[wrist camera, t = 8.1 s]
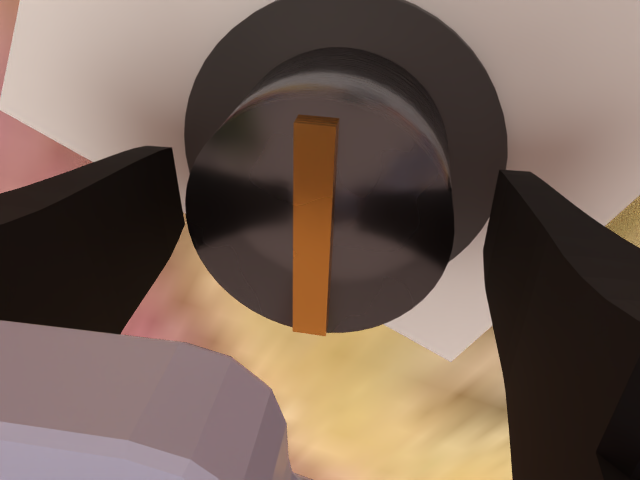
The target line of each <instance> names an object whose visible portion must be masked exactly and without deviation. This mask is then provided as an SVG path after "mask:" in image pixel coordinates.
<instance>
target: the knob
mask: <svg viewBox="0 0 640 480" xmlns="http://www.w3.org/2000/svg"><path fill="white" fill-rule="evenodd" d="M185 209H186V219H187V224H188V230H189V233H190V236H191V239H192V242H193V245H194V247H195V249H196V251H197V253H198V255H199V257H200V259H201V260H202V262H203V264H204V265H205V267H206V268H207V270H208V271H209V272H210V274H211V275H212V276H213V277H214V279H215V280H216V281H217V282H218V283H219V284H220V285H221V286H222V287H223V288H224V289H225V290H226V291H227V292H228V293H229V294H230V295H231V296H233V297H234V298H235V299H237V300H238V301H239V302H240V303H242V304H243V305H245V306H246V307H248V308H249V309H251V310H253V311H254V312H256V313H258V314H260V315H262V316H264V317H266V318H268V319H270V320H273V321H275V322H278V323H281V324H283V325H287V326H290V327H293V332H300V333H307V334H314V335H322V336H326V333H343V332H352V331H360V330H364V329H369V328H373V327H376V326H379V325H382V324H385V323H388V322H390V321H392V320H394V319H396V318H398V317H400V316H402V315H403V314H405V313H406V312H408V311H410V310H411V309H413V308H414V307H415V306H416V305H417V304H419V303H420V302H421V301H422V300H423V299H424V298H425V297H426V296H427V295H428V294H429V293H430V292H431V291H432V290H433V288H434V287H435V286H436V284H437V283H438V281H439V280H440V278H441V277H442V275H443V273H444V271H445V268H446V266H447V264H448V262H449V259H450V255H451V252H452V248H453V241H454V233H455V229H454V210H453V197H452V185H451V173H450V161H449V148H448V139H447V133H446V128H445V124H444V122H443V119H442V116H441V113H440V111H439V109H438V107H437V105H436V103H435V101H434V100H433V98H432V97H431V95H430V94H429V92H428V91H427V90H426V88H425V87H424V86H423V85H422V84H421V83H420V82H419V81H418V80H417V79H416V78H415V77H414V76H413V75H412V74H411V73H409V72H408V71H407V70H406V69H404V68H403V67H401V66H400V65H398V64H396V63H395V62H393V61H391V60H390V59H387V58H385V57H383V56H380V55H378V54H376V53H372V52H368V51H365V50H361V49H355V48H347V47H328V48H321V49H314V50H311V51H307V52H304V53H300V54H298V55H296V56H294V57H291V58H289V59H287V60H285V61H284V62H282V63H281V64H279V65H277V66H276V67H275V68H273V69H272V70H271V71H270V72H269V73H267V74H266V75H265V76H264V77H263V78H262V79H261V81H260V82H259V83H258V84H257V85H256V86H255V87H254V89H253V90H252V91H251V92H250V93H249V94H248V95H247V97H246V98H245V99H244V100H243V101H242V102H241V103H240V105H239V106H238V107H237V108H236V109H235V110H234V111H233V113H232V114H231V115H230V116H229V117H228V118H227V120H226V121H225V122H224V123H223V124H222V125H221V126H220V128H219V129H218V130H217V131H216V132H215V133H214V134H213V136H212V137H211V138H210V139H209V140H208V141H207V143H206V144H205V145H204V147H203V148H202V150H201V151H200V153H199V154H198V156H197V158H196V160H195V162H194V164H193V167H192V169H191V171H190V175H189V179H188V183H187V187H186V197H185Z"/></svg>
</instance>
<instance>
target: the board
mask: <svg viewBox="0 0 640 480" xmlns="http://www.w3.org/2000/svg"><path fill="white" fill-rule="evenodd" d="M328 47H347V48H355V49H361V50H365V51H368V52H372V53H376V54H378V55H380V56H383V57H385V58H387V59H390V60H391V61H393V62H395V63H396V64H398V65H400V66H401V67H403V68H404V69H406V70H407V71H408V72H409V73H411V74H412V75H413V76H414V77H415V78H416V79H417V80H418V81H419V82H420V83H421V84H422V85H423V86H424V87H425V88H426V90H427V91H428V92H429V94H430V95H431V97H432V98H433V100H434V101H435V103H436V105H437V107H438V109H439V111H440V113H441V116H442V119H443V122H444V124H445V128H446V133H447V139H448V148H449V161H450V173H451V185H452V197H453V210H454V229H455V233H454V241H453V248H452V252H451V255H450V259H449V262H448V264H447V266H446V268H445V271H444V273H443V275H442V277H441V278H440V280H439V281H438V283H437V284H436V286H435V287H434V288H433V290H432V291H431V292H430V293H429V294H428V295H427V296H426V297H425V298H424V299H423V300H422V301H421V302H420V303H419V304H417V305H416V306H415V307H414V308H413V309H411V310H410V311H408V312H406V313H405V314H403V315H402V316H400V317H398V318H396V319H394V320H392V321H390V322H388V323H385V324H384V325H385V326H387V327H389V328H391V329H393V330H394V331H396V332H398V333H400V334H402V335H403V336H405V337H407V338H409V339H411V340H412V341H414V342H416V343H418V344H419V345H421V346H423V347H425V348H427V349H428V350H430V351H432V352H434V353H436V354H437V355H439V356H441V357H443V358H444V359H446V360H448V361H450V362H452V361H453V360H454V359H455V358H456V357H457V356H458V355H460V354H461V353H462V352H463V351H464V350H465V349H466V348H467V347H469V346H470V345H471V344H472V343H473V342H474V341H475V340H476V339H478V338H479V337H480V336H481V335H482V334H483V333H484V332H486V331H487V330H488V329H489V328H490V327H491V326H492V320H491V315H490V311H489V306H488V301H487V296H486V291H485V282H484V265H483V247H484V242H485V237H486V232H487V227H488V222H489V217H490V212H491V208H492V203H493V198H494V193H495V188H496V183H497V178H498V173H499V169H500V170H515V171H530V172H532V173H533V174H535V175H536V176H538V177H539V178H541V179H542V180H543V181H545V182H546V183H547V184H548V185H550V186H551V187H552V188H554V189H555V190H556V191H557V192H559V193H560V194H561V195H562V196H564V197H565V198H566V199H568V200H569V201H570V202H571V203H573V204H574V205H575V206H577V207H578V208H579V209H581V210H582V211H583V212H585V213H586V214H588V215H589V216H590V217H592V218H593V219H595V220H596V221H597V222H599V223H600V224H602V225H603V226H605V225H607V224H608V223H609V222H610V221H611V220H612V219H613V218H614V217H616V216H617V215H618V214H619V213H620V212H621V211H622V210H623V209H625V208H626V207H627V206H628V205H629V204H630V203H631V202H633V201H634V200H635V199H636V198H637V197H638V196H639V195H640V0H20V3H19V8H18V13H17V18H16V23H15V28H14V33H13V38H12V43H11V48H10V53H9V58H8V63H7V68H6V73H5V78H4V83H3V88H2V93H1V98H0V110H1V111H3V112H4V113H6V114H8V115H10V116H12V117H13V118H15V119H17V120H19V121H20V122H22V123H24V124H26V125H28V126H29V127H31V128H33V129H35V130H37V131H38V132H40V133H42V134H44V135H46V136H47V137H49V138H51V139H53V140H54V141H56V142H58V143H60V144H62V145H63V146H65V147H67V148H69V149H71V150H72V151H74V152H76V153H78V154H80V155H81V156H83V157H85V158H87V159H88V160H90V161H92V162H96V161H98V160H101V159H104V158H106V157H109V156H112V155H115V154H118V153H120V152H123V151H127V150H130V149H133V148H137V147H142V146H160V147H172V150H173V156H174V162H175V168H176V174H177V180H178V186H179V192H180V198H181V204H182V210H183V213H185V214H186V209H185V197H186V187H187V183H188V179H189V175H190V171H191V169H192V167H193V164H194V162H195V160H196V158H197V156H198V154H199V153H200V151H201V150H202V148H203V147H204V145H205V144H206V143H207V141H208V140H209V139H210V138H211V137H212V136H213V134H214V133H215V132H216V131H217V130H218V129H219V128H220V126H221V125H222V124H223V123H224V122H225V121H226V120H227V118H228V117H229V116H230V115H231V114H232V113H233V111H234V110H235V109H236V108H237V107H238V106H239V105H240V103H241V102H242V101H243V100H244V99H245V98H246V97H247V95H248V94H249V93H250V92H251V91H252V90H253V89H254V87H255V86H256V85H257V84H258V83H259V82H260V81H261V79H262V78H263V77H264V76H265V75H266V74H267V73H269V72H270V71H271V70H272V69H273V68H275V67H276V66H277V65H279V64H281V63H282V62H284V61H285V60H287V59H289V58H291V57H294V56H296V55H298V54H300V53H304V52H307V51H311V50H314V49H321V48H328Z"/></svg>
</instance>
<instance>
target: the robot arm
mask: <svg viewBox="0 0 640 480" xmlns="http://www.w3.org/2000/svg"><path fill="white" fill-rule="evenodd" d="M184 225H185V222H184V216H183V210H182V204H181V198H180V192H179V186H178V180H177V174H176V168H175V162H174V156H173V150H172V147H160V146H142V147H137V148H133V149H130V150H127V151H123V152H120V153H118V154H115V155H112V156H109V157H106V158H104V159H101V160H98V161H96V162H93V163H90V164H88V165H85V166H82V167H80V168H77V169H74V170H72V171H69V172H66V173H63V174H60V175H57V176H54V177H51V178H48V179H45V180H43V181H40V182H37V183H34V184H31V185H28V186H25V187H22V188H18V189H15V190H11V191H8V192H4V193H1V194H0V480H312V479H309V478H307V477H304V476H301V475H299V474H296V473H293V472H292V469H291V465H290V461H289V457H288V440H287V423H286V421H285V419H284V417H283V414H282V412H281V410H280V407H279V405H278V403H277V401H276V398H275V396H274V394H273V392H272V389H271V388H270V387H269V386H268V385H267V384H265V383H264V382H263V381H262V380H260V379H259V378H258V377H257V376H255V375H254V374H253V373H251V372H250V371H249V370H248V369H246V368H245V367H244V366H243V365H241V364H240V363H239V362H237V361H236V360H235V359H234V358H232V357H231V356H228V355H225V354H221V353H218V352H215V351H212V350H209V349H205V348H202V347H199V346H196V345H192V344H189V343H186V342H178V341H170V340H162V339H153V338H145V337H136V336H128V335H120V334H121V332H122V330H123V329H124V327H125V326H126V324H127V322H128V321H129V319H130V318H131V316H132V315H133V313H134V312H135V310H136V309H137V307H138V306H139V304H140V303H141V301H142V300H143V298H144V297H145V295H146V294H147V292H148V291H149V289H150V288H151V286H152V285H153V283H154V282H155V280H156V279H157V277H158V276H159V274H160V273H161V271H162V270H163V268H164V267H165V265H166V263H167V262H168V260H169V259H170V257H171V255H172V253H173V250H174V248H175V246H176V244H177V242H178V239H179V237H180V235H181V232H182V230H183V227H184ZM483 265H484V282H485V291H486V296H487V301H488V306H489V311H490V315H491V320H492V325H493V329H494V334H495V339H496V343H497V348H498V353H499V357H500V362H501V367H502V372H503V378H504V384H505V391H506V401H507V412H508V424H509V435H510V449H511V463H512V476H513V480H640V248H639V247H637V246H635V245H633V244H632V243H630V242H628V241H627V240H625V239H623V238H622V237H620V236H619V235H617V234H616V233H614V232H612V231H611V230H609V229H608V228H606V227H605V226H603V225H602V224H600V223H599V222H597V221H596V220H595V219H593V218H592V217H590V216H589V215H588V214H586V213H585V212H583V211H582V210H581V209H579V208H578V207H577V206H575V205H574V204H573V203H571V202H570V201H569V200H568V199H566V198H565V197H564V196H562V195H561V194H560V193H559V192H557V191H556V190H555V189H554V188H552V187H551V186H550V185H548V184H547V183H546V182H545V181H543V180H542V179H541V178H539V177H538V176H536V175H535V174H533V173H532V172H530V171H515V170H500V169H499V173H498V178H497V183H496V188H495V193H494V198H493V203H492V208H491V212H490V217H489V222H488V227H487V232H486V237H485V242H484V247H483Z"/></svg>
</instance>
